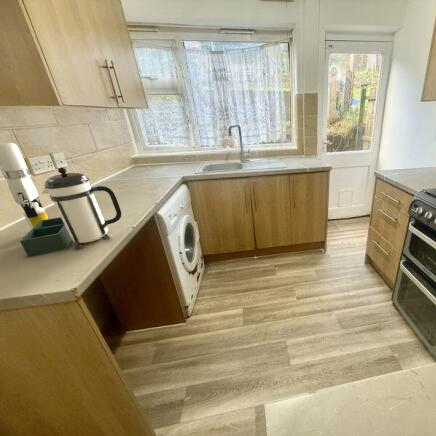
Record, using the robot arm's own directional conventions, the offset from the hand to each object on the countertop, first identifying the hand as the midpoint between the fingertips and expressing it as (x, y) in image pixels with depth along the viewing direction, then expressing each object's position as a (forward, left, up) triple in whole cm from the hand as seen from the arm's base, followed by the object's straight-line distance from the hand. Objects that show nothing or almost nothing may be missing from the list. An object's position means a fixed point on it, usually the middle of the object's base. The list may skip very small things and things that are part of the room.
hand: (36, 213), depth 107 cm
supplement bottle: (0, 0, -8) cm, 8 cm away
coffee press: (+23, -23, -8) cm, 33 cm away
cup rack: (+8, -16, -8) cm, 20 cm away
